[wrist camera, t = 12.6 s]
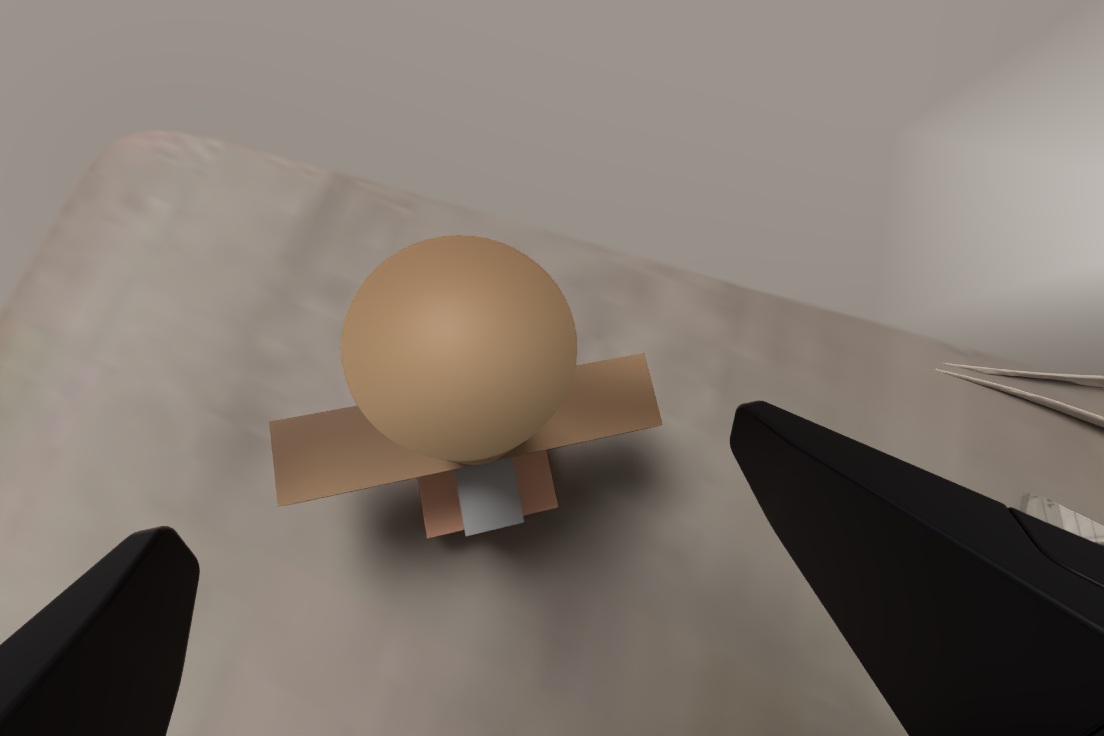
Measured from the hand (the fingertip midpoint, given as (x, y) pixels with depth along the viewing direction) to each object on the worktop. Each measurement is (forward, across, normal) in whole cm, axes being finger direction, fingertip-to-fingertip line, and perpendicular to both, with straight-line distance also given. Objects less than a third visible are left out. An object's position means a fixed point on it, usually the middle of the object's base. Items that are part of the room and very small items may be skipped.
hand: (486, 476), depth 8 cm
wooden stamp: (+7, 0, +5) cm, 9 cm away
